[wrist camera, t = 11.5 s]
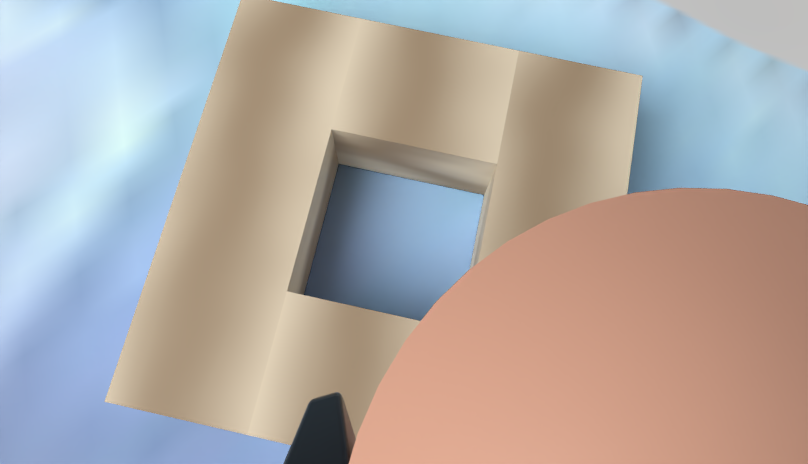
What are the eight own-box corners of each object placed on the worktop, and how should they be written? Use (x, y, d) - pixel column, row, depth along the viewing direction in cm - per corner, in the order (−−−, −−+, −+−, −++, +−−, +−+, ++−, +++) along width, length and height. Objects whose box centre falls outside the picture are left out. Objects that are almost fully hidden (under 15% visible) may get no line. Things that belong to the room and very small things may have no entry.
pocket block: (613, 115, 25) (642, 75, 22) (558, 500, 21) (585, 513, 18) (259, 43, 25) (242, -6, 22) (143, 403, 21) (104, 401, 18)
